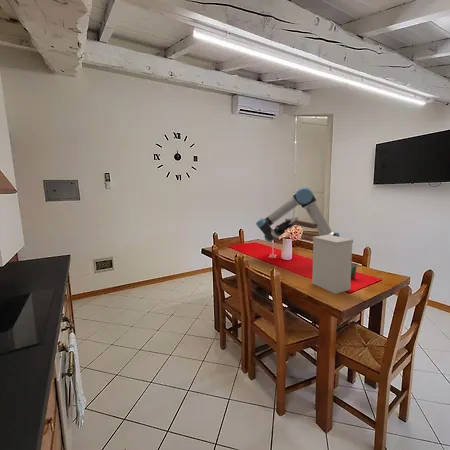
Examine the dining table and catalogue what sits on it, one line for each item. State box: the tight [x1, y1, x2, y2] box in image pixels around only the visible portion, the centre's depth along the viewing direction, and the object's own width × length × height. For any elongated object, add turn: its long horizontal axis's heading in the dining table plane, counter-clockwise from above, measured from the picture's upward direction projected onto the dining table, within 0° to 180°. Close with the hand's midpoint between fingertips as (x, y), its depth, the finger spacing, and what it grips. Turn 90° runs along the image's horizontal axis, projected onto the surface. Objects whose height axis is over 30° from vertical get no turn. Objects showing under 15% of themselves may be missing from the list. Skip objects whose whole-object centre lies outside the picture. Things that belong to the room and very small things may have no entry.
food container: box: [351, 263, 358, 280], centre depth 176 cm, size 12×6×10 cm, turn 36°
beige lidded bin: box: [311, 235, 354, 295], centre depth 159 cm, size 13×18×30 cm
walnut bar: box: [284, 218, 317, 229], centre depth 181 cm, size 3×28×3 cm, turn 26°
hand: (296, 218), depth 184 cm, fingers closed on walnut bar, 3 cm apart
